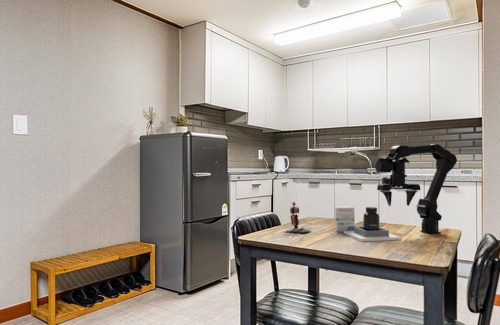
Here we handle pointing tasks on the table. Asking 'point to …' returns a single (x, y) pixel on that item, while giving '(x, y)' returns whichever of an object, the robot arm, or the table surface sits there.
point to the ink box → (344, 219)
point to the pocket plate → (371, 234)
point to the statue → (296, 221)
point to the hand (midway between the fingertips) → (398, 205)
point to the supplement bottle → (371, 219)
